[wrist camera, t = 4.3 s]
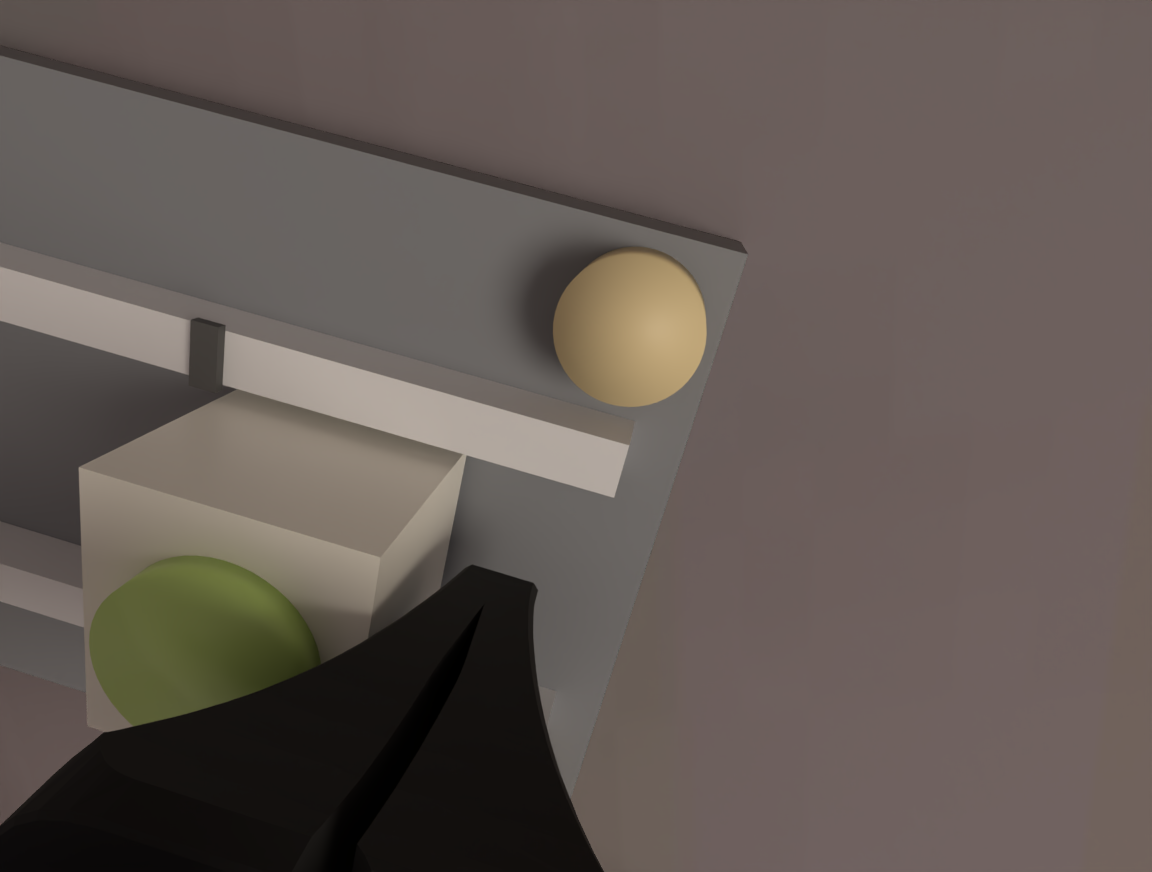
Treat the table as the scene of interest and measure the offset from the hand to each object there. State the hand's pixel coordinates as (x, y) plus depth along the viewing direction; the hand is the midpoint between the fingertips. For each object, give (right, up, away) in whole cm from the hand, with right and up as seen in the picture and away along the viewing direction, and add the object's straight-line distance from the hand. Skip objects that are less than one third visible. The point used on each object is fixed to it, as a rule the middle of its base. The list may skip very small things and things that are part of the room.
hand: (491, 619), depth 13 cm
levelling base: (-6, +3, +4) cm, 8 cm away
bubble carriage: (-3, +1, +2) cm, 4 cm away
